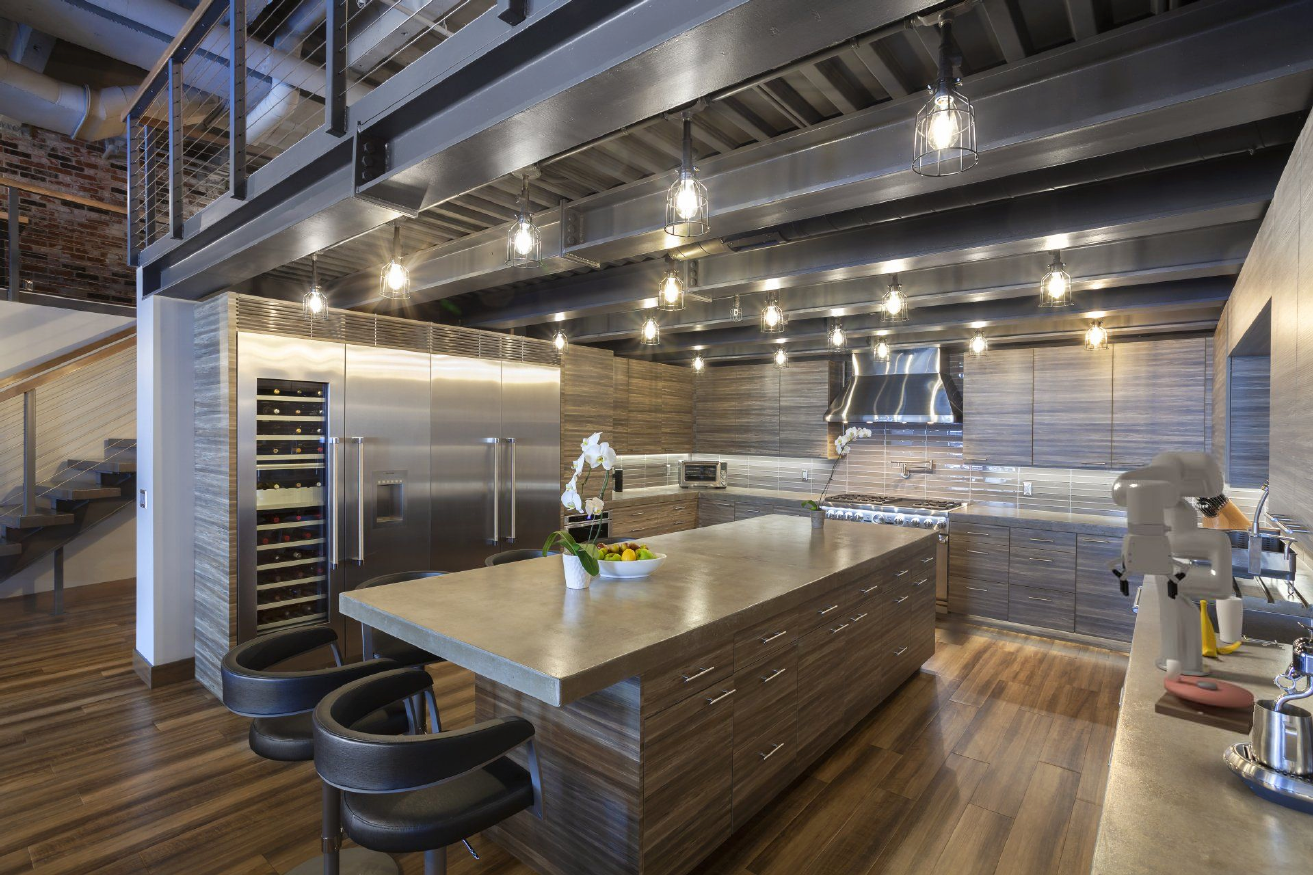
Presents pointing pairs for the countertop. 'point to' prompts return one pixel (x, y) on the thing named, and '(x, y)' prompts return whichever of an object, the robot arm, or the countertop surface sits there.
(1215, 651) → the banana peel
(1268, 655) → the countertop surface
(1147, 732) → the countertop surface
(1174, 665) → the handwheel
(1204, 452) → the robot arm
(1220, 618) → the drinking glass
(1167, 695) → the wheel base
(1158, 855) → the countertop surface
